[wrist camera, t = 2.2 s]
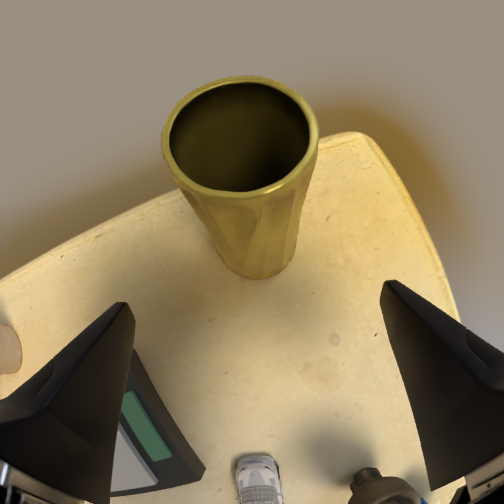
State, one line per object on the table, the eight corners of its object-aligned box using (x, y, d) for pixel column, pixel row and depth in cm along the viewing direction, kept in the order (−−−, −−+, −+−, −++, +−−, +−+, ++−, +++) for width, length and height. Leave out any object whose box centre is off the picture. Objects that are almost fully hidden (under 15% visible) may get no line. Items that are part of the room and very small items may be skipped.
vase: (260, 296, 21) (245, 260, 7) (201, 244, 22) (115, 146, 9) (311, 236, 22) (367, 122, 8) (252, 190, 23) (234, 50, 9)
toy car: (277, 451, 18) (278, 468, 15) (286, 515, 17) (287, 533, 14) (232, 455, 18) (227, 472, 16) (245, 518, 17) (243, 536, 14)
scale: (206, 468, 18) (198, 485, 15) (97, 490, 17) (83, 502, 15) (134, 348, 21) (117, 352, 18) (40, 393, 20) (22, 397, 17)
